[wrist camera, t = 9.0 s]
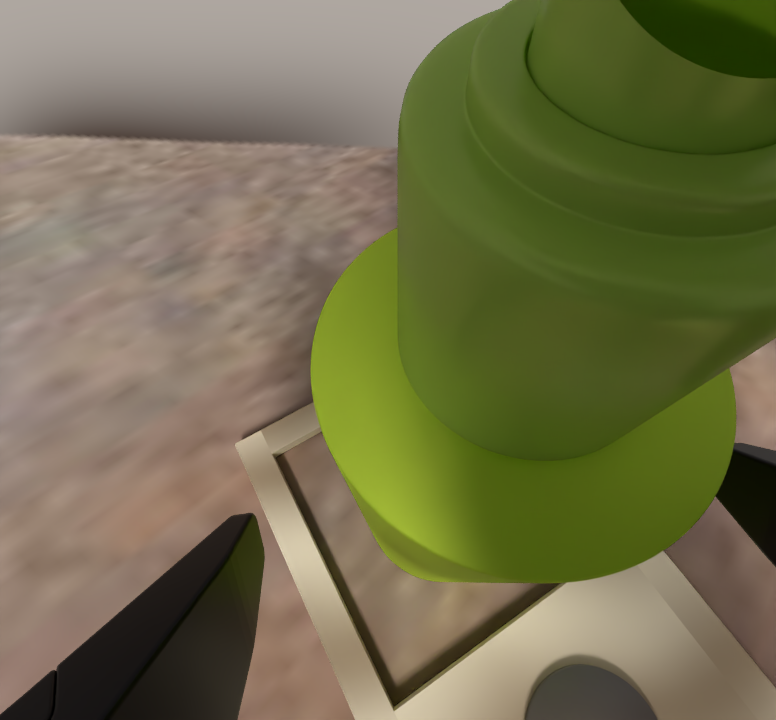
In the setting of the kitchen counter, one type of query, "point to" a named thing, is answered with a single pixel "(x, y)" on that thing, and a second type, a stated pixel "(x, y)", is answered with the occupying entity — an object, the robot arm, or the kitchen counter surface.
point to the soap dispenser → (559, 289)
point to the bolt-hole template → (532, 635)
